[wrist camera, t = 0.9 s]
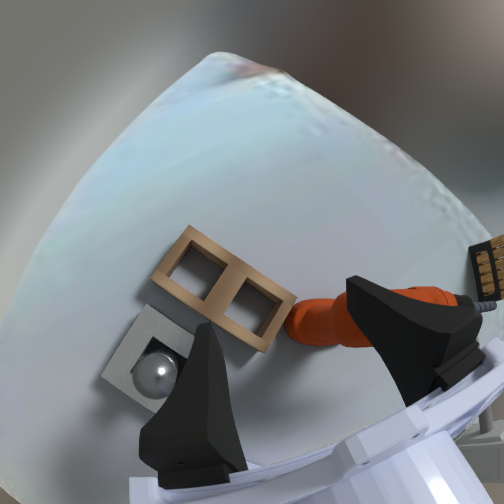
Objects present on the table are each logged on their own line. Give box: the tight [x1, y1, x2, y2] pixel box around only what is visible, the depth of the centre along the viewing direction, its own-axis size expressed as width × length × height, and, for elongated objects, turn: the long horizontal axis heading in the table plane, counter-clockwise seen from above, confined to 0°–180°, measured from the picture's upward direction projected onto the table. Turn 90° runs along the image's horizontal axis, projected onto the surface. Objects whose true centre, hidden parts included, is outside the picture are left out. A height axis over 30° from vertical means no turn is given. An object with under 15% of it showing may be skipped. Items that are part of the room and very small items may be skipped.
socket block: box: [101, 304, 224, 414], centre depth 22 cm, size 8×8×2 cm
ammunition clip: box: [469, 235, 504, 302], centre depth 31 cm, size 11×2×12 cm, turn 10°
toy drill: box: [285, 287, 497, 348], centre depth 22 cm, size 5×19×15 cm, turn 89°
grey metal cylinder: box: [132, 348, 179, 400], centre depth 20 cm, size 3×3×8 cm
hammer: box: [454, 337, 504, 483], centre depth 25 cm, size 15×8×30 cm
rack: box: [150, 225, 297, 353], centre depth 25 cm, size 12×6×2 cm, turn 58°
